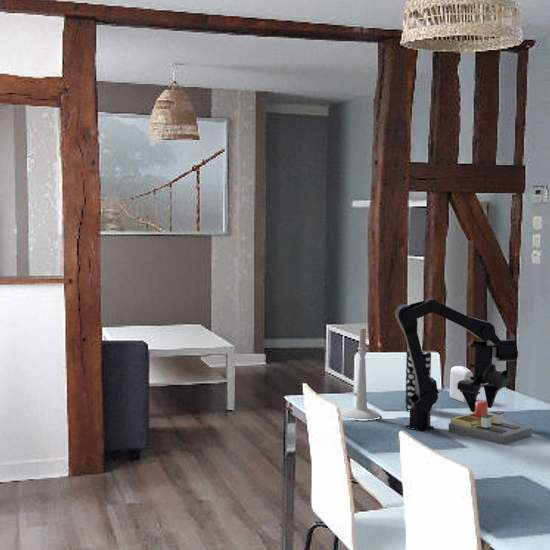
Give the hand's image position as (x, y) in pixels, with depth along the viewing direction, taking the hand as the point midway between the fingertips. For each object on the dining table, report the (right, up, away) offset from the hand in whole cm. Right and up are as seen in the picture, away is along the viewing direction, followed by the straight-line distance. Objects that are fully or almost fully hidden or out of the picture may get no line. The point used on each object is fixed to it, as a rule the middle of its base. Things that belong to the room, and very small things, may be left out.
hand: (481, 409), depth 264 cm
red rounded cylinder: (0, -3, 0) cm, 3 cm away
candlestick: (-36, -5, +14) cm, 39 cm away
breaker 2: (+4, -3, -4) cm, 7 cm away
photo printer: (+3, -3, +41) cm, 41 cm away
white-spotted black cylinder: (-16, -4, +24) cm, 29 cm away
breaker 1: (-1, -4, -9) cm, 10 cm away
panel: (+1, -6, -6) cm, 9 cm away
